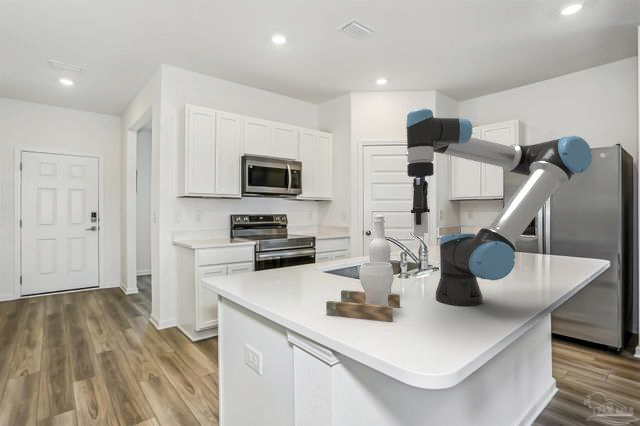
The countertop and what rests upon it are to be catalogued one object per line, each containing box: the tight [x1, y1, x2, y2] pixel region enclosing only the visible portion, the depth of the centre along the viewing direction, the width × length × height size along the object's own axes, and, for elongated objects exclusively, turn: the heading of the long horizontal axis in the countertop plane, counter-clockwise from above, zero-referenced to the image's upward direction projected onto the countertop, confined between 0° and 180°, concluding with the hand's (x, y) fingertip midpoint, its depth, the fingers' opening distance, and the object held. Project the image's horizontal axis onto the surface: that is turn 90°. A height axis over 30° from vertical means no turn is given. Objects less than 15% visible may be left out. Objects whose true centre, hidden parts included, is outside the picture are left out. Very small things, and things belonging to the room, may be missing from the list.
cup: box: [358, 261, 395, 306], centre depth 107 cm, size 11×11×15 cm
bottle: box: [368, 214, 392, 294], centre depth 127 cm, size 8×8×30 cm
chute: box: [325, 289, 401, 322], centre depth 109 cm, size 20×16×4 cm
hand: (421, 234), depth 102 cm, fingers open, 12 cm apart
